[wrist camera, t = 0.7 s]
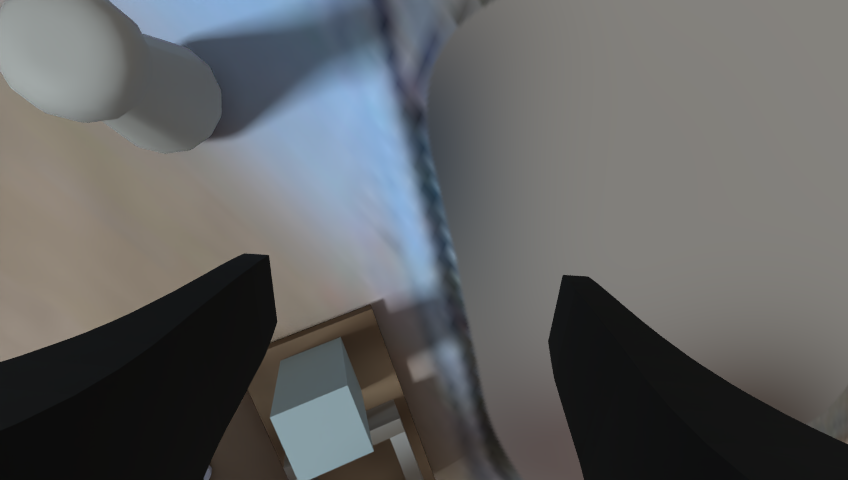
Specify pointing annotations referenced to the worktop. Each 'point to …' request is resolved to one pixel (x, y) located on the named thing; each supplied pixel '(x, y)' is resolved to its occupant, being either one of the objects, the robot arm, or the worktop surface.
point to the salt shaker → (107, 72)
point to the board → (383, 398)
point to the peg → (320, 411)
